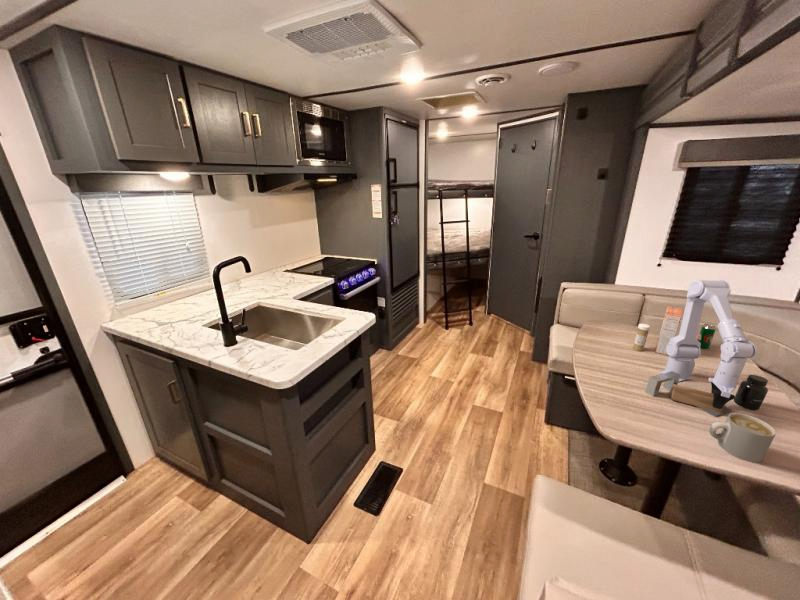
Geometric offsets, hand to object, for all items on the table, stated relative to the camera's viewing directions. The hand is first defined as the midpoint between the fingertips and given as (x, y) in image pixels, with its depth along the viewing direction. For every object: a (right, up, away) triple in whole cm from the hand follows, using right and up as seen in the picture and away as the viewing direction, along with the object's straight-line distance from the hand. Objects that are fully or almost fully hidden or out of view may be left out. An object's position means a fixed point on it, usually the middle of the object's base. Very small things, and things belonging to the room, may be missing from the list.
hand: (715, 403), depth 115 cm
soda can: (+38, +14, +45) cm, 61 cm away
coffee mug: (-11, -9, -16) cm, 21 cm away
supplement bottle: (+14, -2, +3) cm, 14 cm away
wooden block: (-5, -1, +3) cm, 6 cm away
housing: (-11, +1, +11) cm, 16 cm away
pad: (-1, -1, +5) cm, 5 cm away
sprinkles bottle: (+4, +13, +43) cm, 45 cm away
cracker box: (+17, +13, +43) cm, 48 cm away
